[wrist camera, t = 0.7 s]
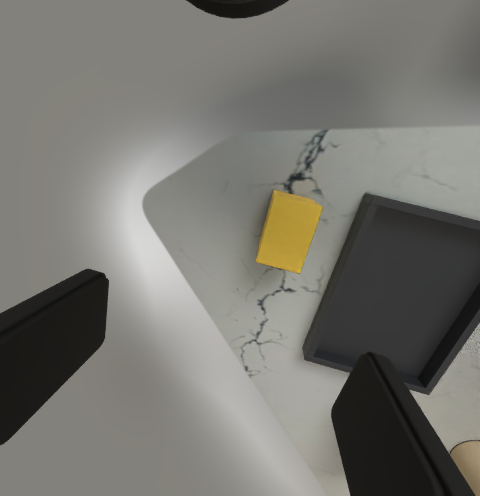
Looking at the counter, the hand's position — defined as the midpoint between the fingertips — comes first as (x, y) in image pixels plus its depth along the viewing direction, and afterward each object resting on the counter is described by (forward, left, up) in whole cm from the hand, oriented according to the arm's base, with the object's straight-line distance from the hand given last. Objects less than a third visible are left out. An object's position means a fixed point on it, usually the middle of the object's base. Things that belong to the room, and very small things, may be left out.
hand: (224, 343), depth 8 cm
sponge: (-1, +3, -18) cm, 18 cm away
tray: (+4, +17, -18) cm, 25 cm away
